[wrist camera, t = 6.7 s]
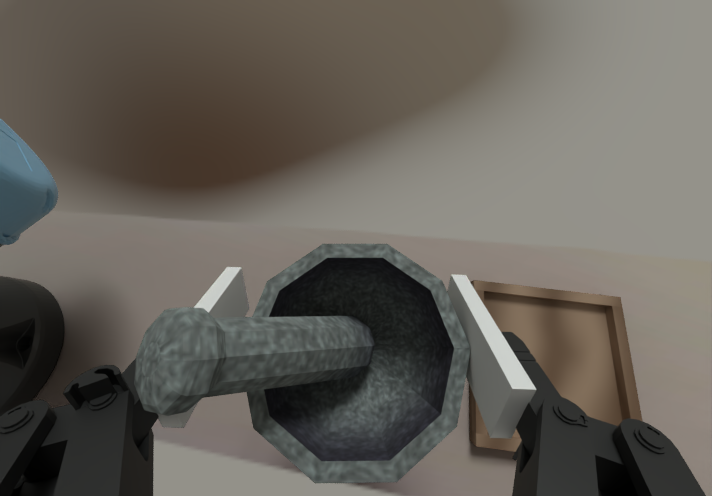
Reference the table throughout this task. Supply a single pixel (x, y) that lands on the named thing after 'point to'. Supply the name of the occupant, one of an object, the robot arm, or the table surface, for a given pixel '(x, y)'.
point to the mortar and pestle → (325, 363)
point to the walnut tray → (565, 350)
